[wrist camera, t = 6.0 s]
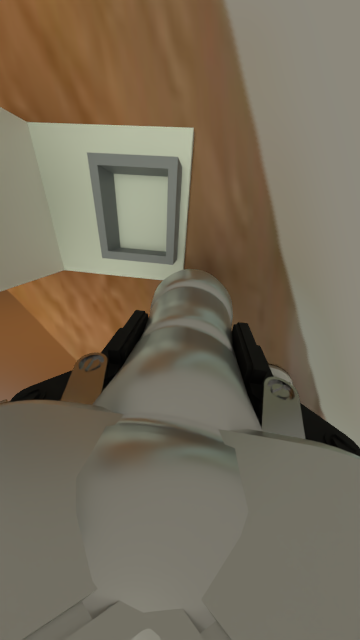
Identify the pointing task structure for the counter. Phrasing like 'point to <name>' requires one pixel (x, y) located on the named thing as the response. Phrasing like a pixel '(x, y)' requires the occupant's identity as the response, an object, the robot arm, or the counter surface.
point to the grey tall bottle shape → (168, 459)
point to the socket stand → (92, 199)
